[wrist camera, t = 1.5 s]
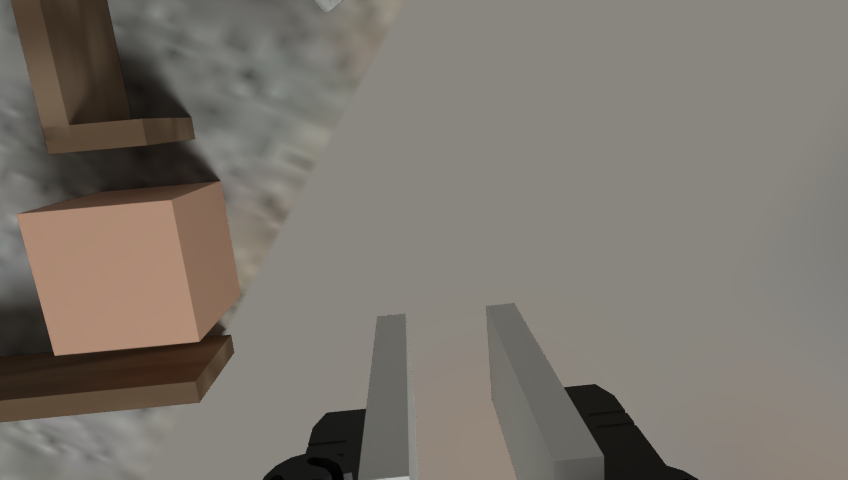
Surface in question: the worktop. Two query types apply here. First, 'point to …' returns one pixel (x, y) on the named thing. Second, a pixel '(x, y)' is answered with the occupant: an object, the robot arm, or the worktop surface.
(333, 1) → the supplement box
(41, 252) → the block
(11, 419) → the low walled maze tray
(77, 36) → the frame
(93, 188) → the worktop surface
